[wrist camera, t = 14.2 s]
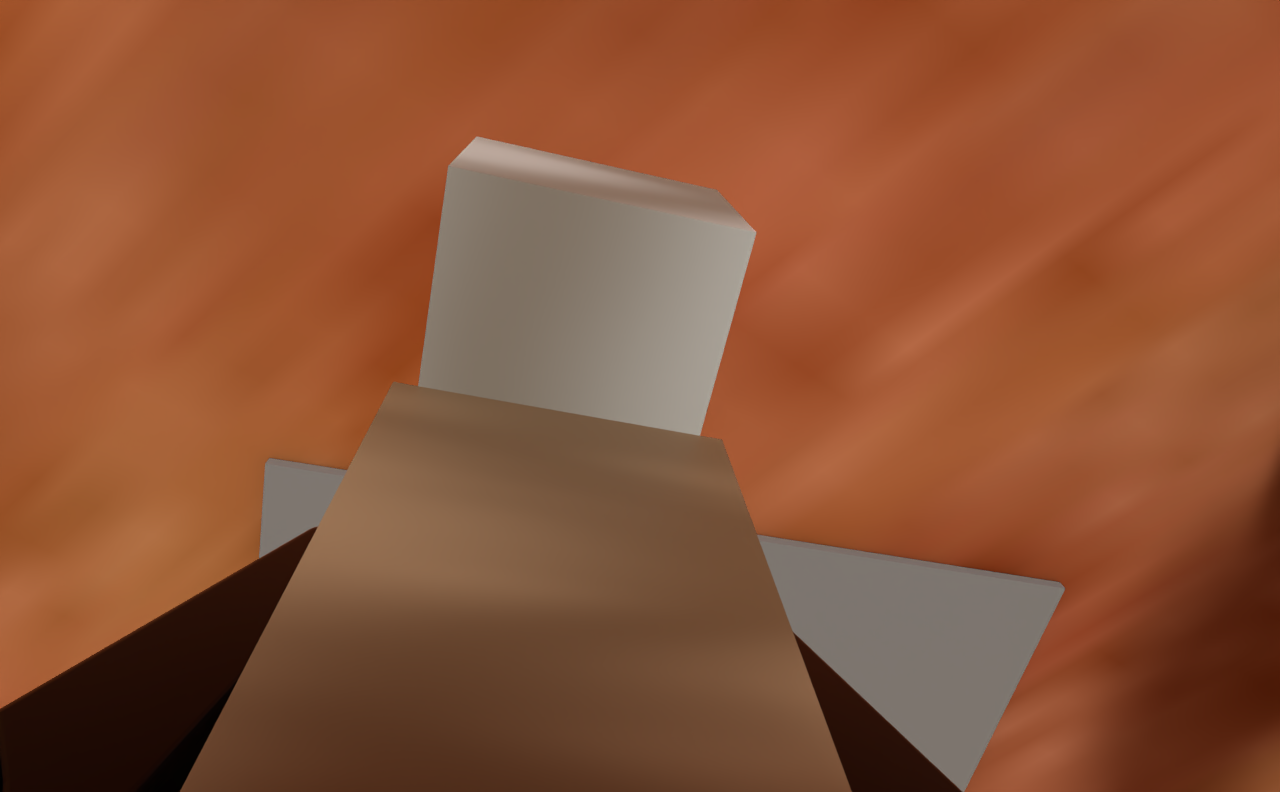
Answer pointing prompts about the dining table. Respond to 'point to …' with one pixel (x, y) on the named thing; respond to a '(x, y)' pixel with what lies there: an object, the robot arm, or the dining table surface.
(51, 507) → the dining table surface
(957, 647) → the board
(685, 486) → the wood block grey top
